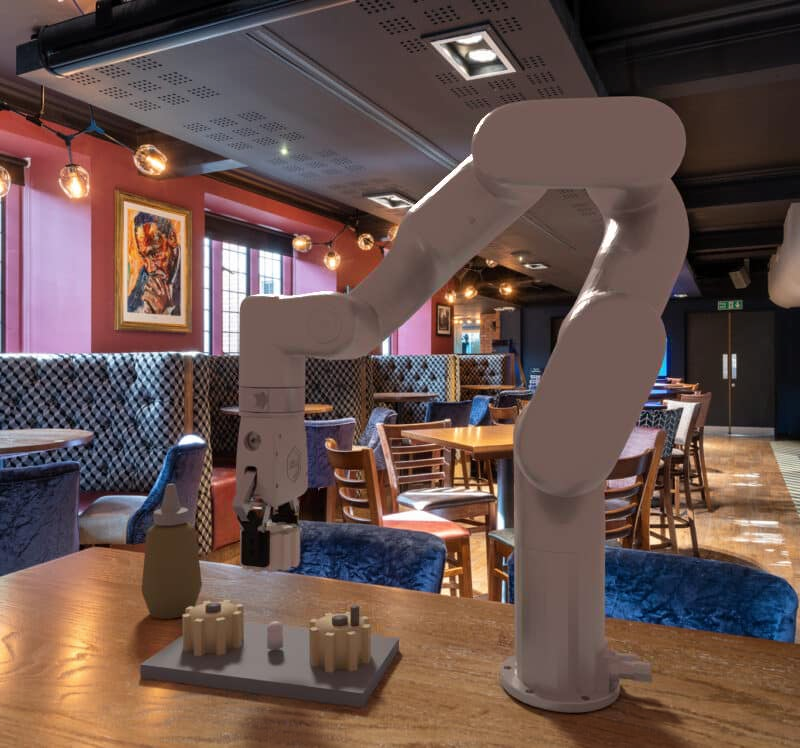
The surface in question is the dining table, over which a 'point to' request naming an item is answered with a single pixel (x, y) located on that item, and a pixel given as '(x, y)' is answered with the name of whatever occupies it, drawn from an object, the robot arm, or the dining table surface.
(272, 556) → the cream idler gear
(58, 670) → the dining table surface
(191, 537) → the squeeze bottle
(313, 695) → the gear board
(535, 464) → the robot arm
